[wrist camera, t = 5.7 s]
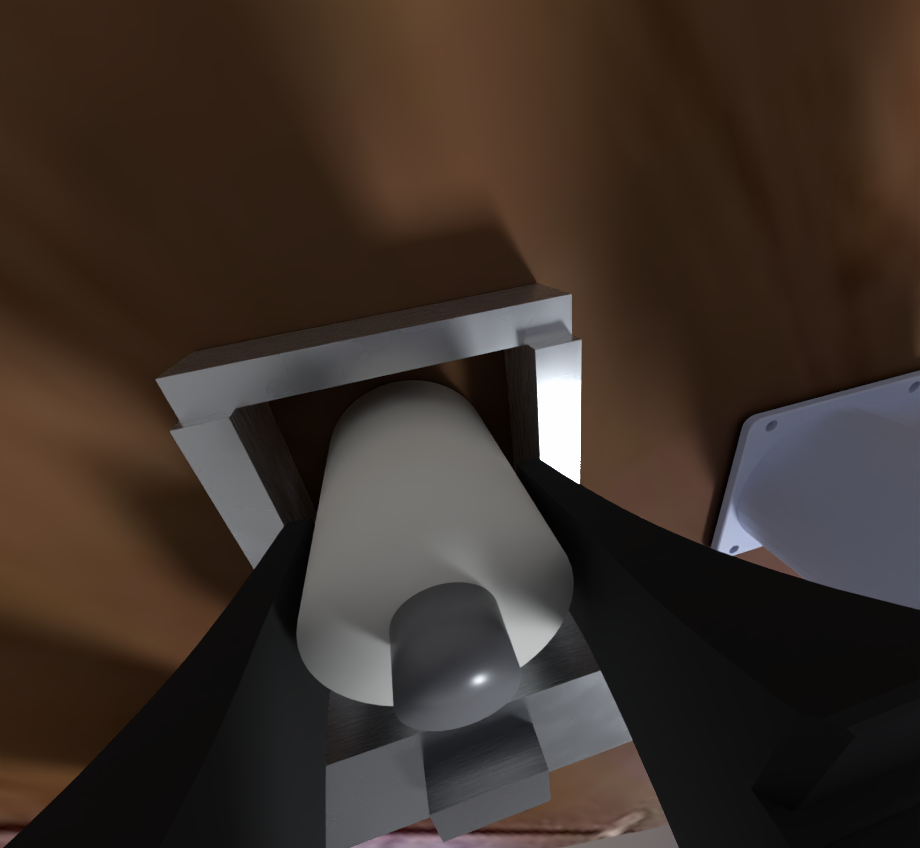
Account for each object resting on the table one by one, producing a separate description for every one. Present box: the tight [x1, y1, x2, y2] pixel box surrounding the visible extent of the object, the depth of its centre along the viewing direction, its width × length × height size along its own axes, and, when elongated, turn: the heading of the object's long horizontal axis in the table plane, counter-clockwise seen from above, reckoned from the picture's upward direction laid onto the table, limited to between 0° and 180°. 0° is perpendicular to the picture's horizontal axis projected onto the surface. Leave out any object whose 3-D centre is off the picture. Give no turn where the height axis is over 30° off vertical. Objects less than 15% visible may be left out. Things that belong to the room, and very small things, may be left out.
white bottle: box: [296, 380, 573, 731], centre depth 9 cm, size 5×5×7 cm
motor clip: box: [155, 283, 632, 848], centre depth 11 cm, size 12×14×7 cm
